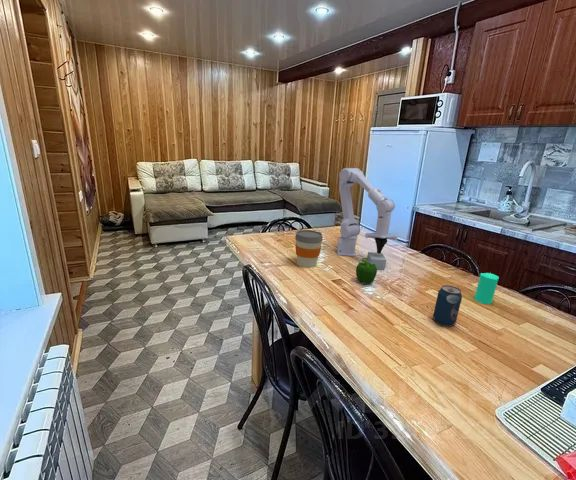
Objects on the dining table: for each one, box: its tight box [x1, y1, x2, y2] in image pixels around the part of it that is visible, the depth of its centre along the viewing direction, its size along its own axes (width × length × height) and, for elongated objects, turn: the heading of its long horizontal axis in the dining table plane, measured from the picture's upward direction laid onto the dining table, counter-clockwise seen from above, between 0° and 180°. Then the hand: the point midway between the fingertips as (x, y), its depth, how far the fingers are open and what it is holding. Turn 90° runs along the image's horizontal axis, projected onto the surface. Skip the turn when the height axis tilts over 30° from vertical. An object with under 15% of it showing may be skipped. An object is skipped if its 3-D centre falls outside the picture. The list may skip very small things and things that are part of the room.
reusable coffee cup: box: [294, 229, 323, 269], centre depth 145 cm, size 12×13×15 cm
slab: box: [366, 251, 387, 269], centre depth 151 cm, size 4×10×7 cm
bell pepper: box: [355, 259, 378, 285], centre depth 130 cm, size 8×8×10 cm
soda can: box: [432, 284, 463, 327], centre depth 102 cm, size 7×7×12 cm
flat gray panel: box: [362, 257, 385, 271], centre depth 152 cm, size 8×14×1 cm, turn 175°
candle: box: [474, 271, 500, 305], centre depth 119 cm, size 6×6×12 cm
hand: (378, 252), depth 150 cm, fingers closed
